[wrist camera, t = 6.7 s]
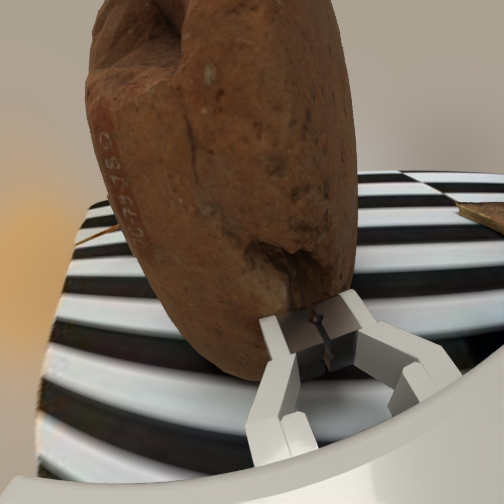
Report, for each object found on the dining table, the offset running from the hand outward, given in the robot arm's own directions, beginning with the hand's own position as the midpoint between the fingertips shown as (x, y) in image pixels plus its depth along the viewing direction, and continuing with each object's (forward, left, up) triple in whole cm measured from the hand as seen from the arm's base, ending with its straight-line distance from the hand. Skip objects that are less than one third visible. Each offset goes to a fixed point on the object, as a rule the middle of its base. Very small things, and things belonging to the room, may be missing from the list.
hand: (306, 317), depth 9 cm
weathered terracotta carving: (0, -5, -5) cm, 7 cm away
